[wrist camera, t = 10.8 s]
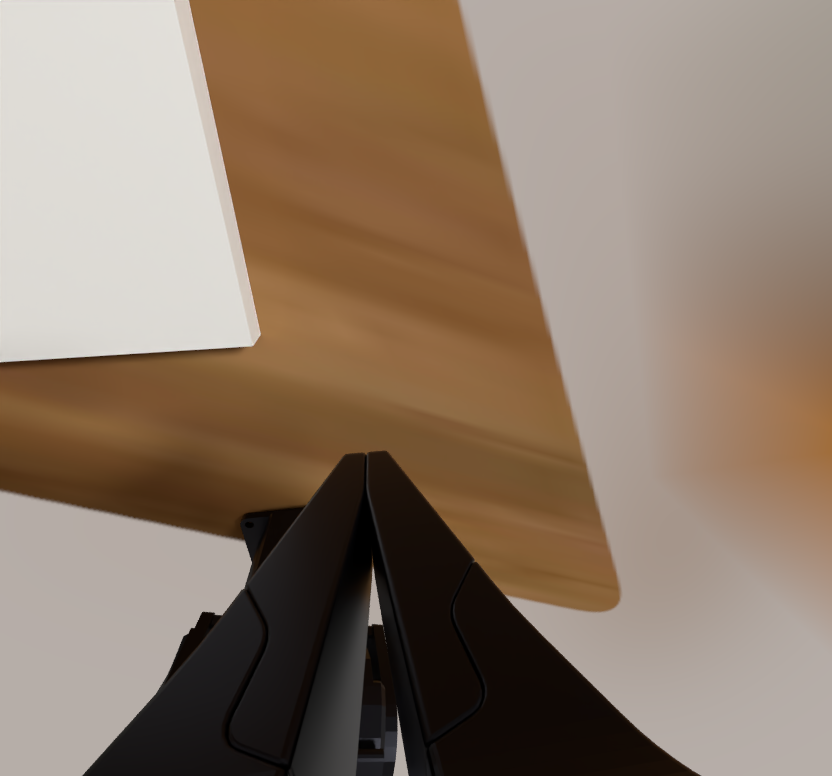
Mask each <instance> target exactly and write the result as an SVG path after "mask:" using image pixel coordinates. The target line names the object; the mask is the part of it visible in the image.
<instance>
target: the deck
mask: <svg viewBox="0 0 832 776" xmlns="http://www.w3.org/2000/svg"><path fill="white" fill-rule="evenodd" d="M260 335H261V333H260V329H259V324H258V319H257V315H256V310H255V305H254V301H253V296H252V292H251V287H250V282H249V278H248V273H247V268H246V264H245V259H244V254H243V250H242V245H241V241H240V236H239V231H238V227H237V222H236V217H235V213H234V208H233V203H232V199H231V194H230V190H229V185H228V180H227V176H226V171H225V166H224V162H223V157H222V152H221V148H220V143H219V139H218V134H217V129H216V125H215V120H214V115H213V111H212V106H211V101H210V97H209V92H208V88H207V83H206V78H205V74H204V69H203V64H202V60H201V55H200V50H199V46H198V41H197V36H196V32H195V27H194V23H193V18H192V13H191V9H190V4H189V0H0V362H10V361H26V360H42V359H58V358H74V357H90V356H105V355H121V354H137V353H153V352H169V351H185V350H201V349H217V348H232V347H248V346H253V345H254V344H255V342H256V341H257V340H258V338H259V337H260Z"/></svg>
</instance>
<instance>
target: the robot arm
mask: <svg viewBox="0 0 832 776" xmlns="http://www.w3.org/2000/svg"><path fill="white" fill-rule="evenodd" d="M249 522H252V523H249ZM240 526H241V529H242V532H243V535H244V539H245V542H246V545H247V548H248V551H249V554H250V557H251V561H252V565H251V568H250V572H249V575H248V578H247V582H246V585H245V589H243V590H241V592H240V593H239V594H238V596H237V597H236V598H235V600H234V601H233V602H232V604H231V605H230V606H229V608H228V609H227V610H226V611H225V613H224V614H223V615H215V613H211V612H202V614H201V616H200V618H199V620H198V622H197V624H196V626H195V628H191V630H190V631H189V634H187V635H185V636H184V637H183V639H182V642H181V644H180V647H179V649H178V652H177V654H176V657H175V659H174V662H173V664H172V666H171V669H170V671H169V673H168V675H167V677H166V678H165V680H164V682H163V684H162V685H161V687H160V688H159V690H158V692H157V693H156V695H155V696H154V697H153V698H152V699H151V700H150V701H149V702H148V703H147V705H146V706H145V707H144V708H143V709H142V710H141V711H140V712H139V714H137V716H136V717H135V718H134V719H133V720H132V721H131V722H130V724H129V725H128V726H127V727H126V728H125V729H124V730H123V731H122V732H121V733H120V734H119V736H118V737H117V738H116V739H115V740H114V741H113V742H112V743H111V744H110V746H109V747H108V748H107V749H106V750H105V751H104V752H103V754H101V756H100V757H99V758H98V759H97V760H96V761H95V762H94V763H93V765H92V766H91V767H90V768H89V769H88V770H87V771H86V772H85V773H84V775H83V776H393V773H394V767H395V759H396V748H397V710H398V716H399V721H400V727H401V733H402V739H403V745H404V751H405V757H406V762H407V768H408V774H409V776H701V775H699V774H697V773H696V772H694V771H692V770H691V769H689V768H688V767H686V766H685V765H683V764H682V763H680V762H679V761H677V760H676V759H675V758H673V757H672V756H670V755H669V754H668V753H667V752H665V751H664V750H663V749H661V748H660V747H659V746H657V745H656V744H655V743H654V742H652V741H651V740H650V739H649V738H648V737H646V736H645V735H644V734H643V733H642V732H640V730H638V729H637V728H636V727H635V726H634V725H633V724H632V723H631V722H630V721H629V720H628V719H627V718H626V717H625V716H624V715H623V714H621V713H620V712H619V711H618V710H617V709H616V708H615V707H614V706H613V705H612V704H611V703H610V702H609V701H608V700H607V699H606V698H605V697H604V696H603V695H602V694H601V693H600V692H599V691H598V690H597V689H596V688H595V687H594V686H593V685H592V684H591V683H590V682H589V681H588V680H587V679H586V678H585V677H584V676H583V675H582V674H581V673H580V672H579V671H578V670H577V669H576V668H575V667H574V666H573V665H572V664H571V663H570V662H569V661H568V660H567V659H565V657H564V656H563V655H562V654H561V653H560V652H559V651H558V650H557V649H556V648H555V647H554V646H553V645H552V644H551V643H549V642H548V641H547V640H546V639H545V638H544V637H543V636H542V635H541V634H540V633H539V631H538V630H537V629H536V628H535V627H534V626H533V625H532V624H531V623H530V622H529V621H528V620H527V619H526V618H525V617H524V616H523V615H522V614H521V613H520V612H519V611H518V610H517V609H516V608H515V607H514V606H513V605H512V603H511V602H510V601H509V600H508V599H507V598H506V596H505V595H504V594H503V593H502V592H501V591H500V589H499V588H498V587H497V586H496V585H495V584H494V582H493V581H492V580H491V579H490V578H489V576H488V575H487V574H486V573H485V571H484V570H483V569H482V568H481V566H480V565H479V564H478V563H477V562H474V558H473V557H472V556H471V554H470V553H469V552H468V551H467V549H466V548H465V547H464V546H463V544H462V543H461V542H460V541H459V539H458V538H457V537H456V536H455V534H454V533H453V532H452V531H451V530H450V528H449V527H448V526H447V525H446V523H445V522H444V521H443V520H442V518H441V517H440V516H439V515H438V513H437V512H436V511H435V510H434V508H433V507H432V506H431V505H430V503H429V502H428V501H427V500H426V499H425V497H424V496H423V495H422V494H421V492H420V491H419V490H418V489H417V487H416V486H415V485H414V484H413V482H412V481H411V480H410V479H409V477H408V476H407V475H406V474H405V472H404V471H403V470H402V469H401V467H400V466H399V465H398V464H397V463H396V461H395V460H394V459H393V458H392V456H391V455H390V454H389V453H388V452H387V451H374V452H368V453H367V455H366V454H365V453H351V454H345V455H344V456H343V457H342V459H341V460H340V461H339V463H338V464H337V465H336V467H335V468H334V469H333V470H332V472H331V473H330V474H329V476H328V477H327V478H326V480H325V481H324V482H323V484H322V485H321V486H320V488H319V489H318V490H317V492H316V493H315V494H314V496H313V497H312V498H311V500H310V501H309V502H308V504H307V505H306V506H305V507H304V508H298V509H288V510H278V511H269V512H259V513H249V514H246V515H244V516H243V518H242V520H241V523H240ZM372 556H373V566H374V573H375V580H376V586H377V592H378V598H379V604H380V609H381V615H382V621H383V625H377V624H372V626H368V620H369V607H370V595H371V594H370V593H371V583H372ZM383 627H384V629H383ZM384 633H385V634H384ZM385 639H386V640H385Z"/></svg>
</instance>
